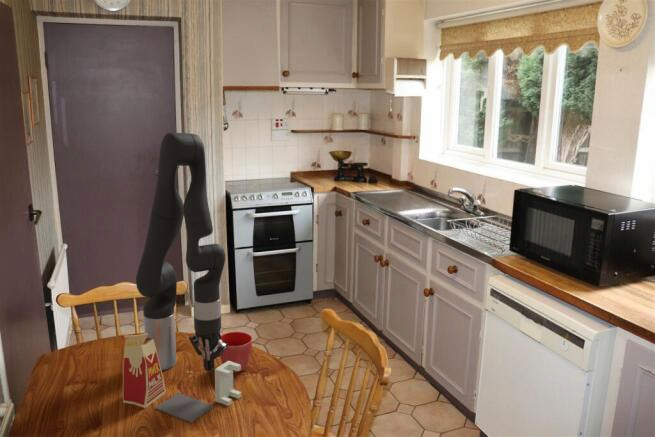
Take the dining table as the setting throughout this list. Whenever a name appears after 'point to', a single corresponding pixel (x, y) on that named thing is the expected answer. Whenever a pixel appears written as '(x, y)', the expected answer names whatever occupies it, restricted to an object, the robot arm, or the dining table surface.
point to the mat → (184, 407)
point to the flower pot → (237, 348)
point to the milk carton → (141, 372)
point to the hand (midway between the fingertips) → (209, 370)
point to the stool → (226, 383)
